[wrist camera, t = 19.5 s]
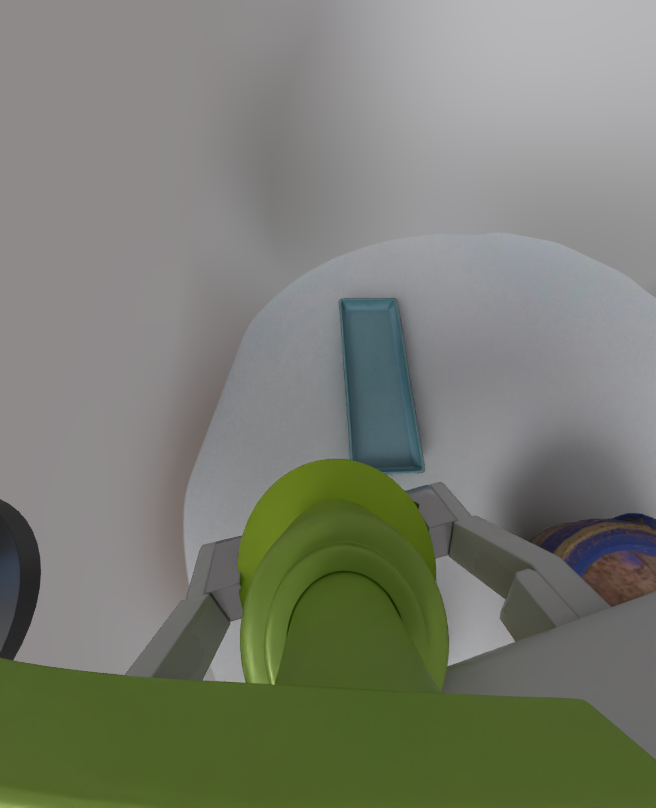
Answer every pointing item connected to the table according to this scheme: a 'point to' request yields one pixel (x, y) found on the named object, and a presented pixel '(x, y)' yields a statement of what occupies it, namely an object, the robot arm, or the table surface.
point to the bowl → (608, 554)
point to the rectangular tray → (378, 387)
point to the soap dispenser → (315, 691)
